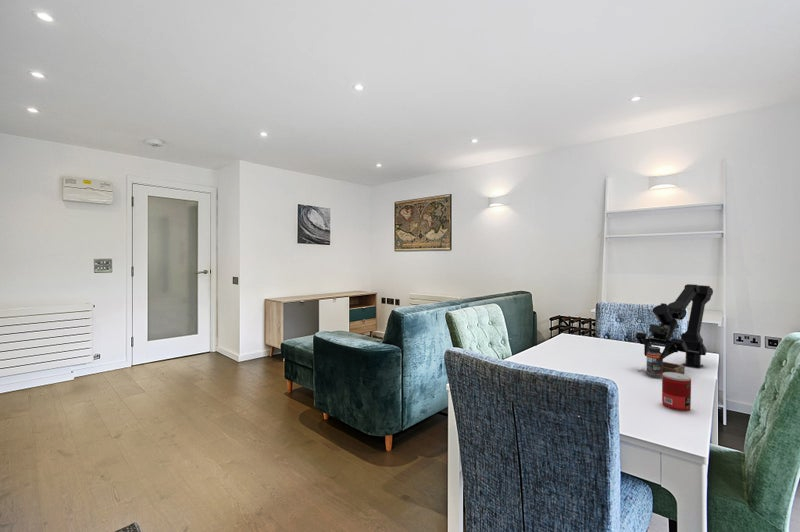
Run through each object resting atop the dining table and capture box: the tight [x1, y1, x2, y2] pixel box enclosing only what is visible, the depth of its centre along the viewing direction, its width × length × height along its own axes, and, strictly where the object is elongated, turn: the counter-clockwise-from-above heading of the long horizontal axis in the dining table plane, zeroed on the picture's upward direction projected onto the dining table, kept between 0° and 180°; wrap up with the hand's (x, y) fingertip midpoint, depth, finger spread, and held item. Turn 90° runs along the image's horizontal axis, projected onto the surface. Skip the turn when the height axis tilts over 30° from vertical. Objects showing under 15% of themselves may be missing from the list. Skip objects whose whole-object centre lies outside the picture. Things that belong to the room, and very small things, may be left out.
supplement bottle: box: [646, 345, 664, 376], centre depth 160 cm, size 6×6×11 cm
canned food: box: [661, 372, 692, 412], centre depth 128 cm, size 8×8×11 cm
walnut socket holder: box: [660, 361, 686, 376], centre depth 165 cm, size 10×10×4 cm
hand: (652, 357), depth 159 cm, fingers closed on supplement bottle, 6 cm apart
